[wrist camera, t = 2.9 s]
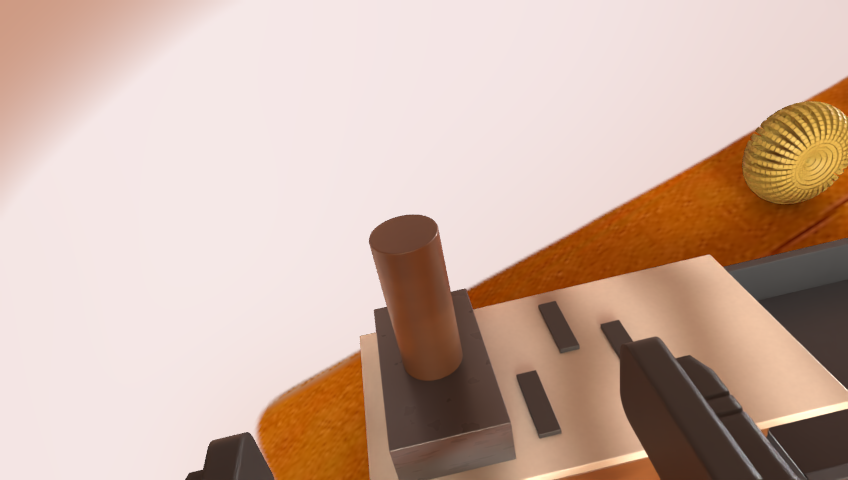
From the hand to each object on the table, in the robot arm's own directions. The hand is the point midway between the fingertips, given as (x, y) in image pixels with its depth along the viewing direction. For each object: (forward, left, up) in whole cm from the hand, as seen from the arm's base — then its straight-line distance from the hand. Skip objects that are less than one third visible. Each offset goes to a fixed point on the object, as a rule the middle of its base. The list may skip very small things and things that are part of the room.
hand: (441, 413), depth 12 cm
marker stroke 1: (+2, +15, -12) cm, 19 cm away
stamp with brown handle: (-4, +11, -12) cm, 16 cm away
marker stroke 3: (+5, +14, -12) cm, 19 cm away
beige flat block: (+2, +13, -18) cm, 22 cm away
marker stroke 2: (+1, +10, -12) cm, 15 cm away
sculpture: (+19, +37, -18) cm, 45 cm away
